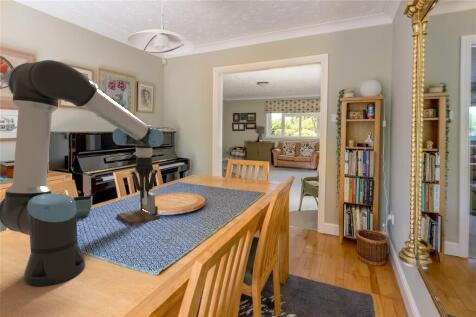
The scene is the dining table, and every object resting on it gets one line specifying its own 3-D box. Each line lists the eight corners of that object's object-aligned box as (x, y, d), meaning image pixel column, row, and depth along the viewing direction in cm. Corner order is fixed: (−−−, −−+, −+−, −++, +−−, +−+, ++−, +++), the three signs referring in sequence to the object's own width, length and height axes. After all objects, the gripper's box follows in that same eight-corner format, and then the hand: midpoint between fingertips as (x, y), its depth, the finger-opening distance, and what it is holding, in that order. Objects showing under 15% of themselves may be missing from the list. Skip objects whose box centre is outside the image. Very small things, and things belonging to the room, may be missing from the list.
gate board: (130, 225, 121) (130, 198, 120) (116, 217, 132) (116, 192, 131) (160, 218, 132) (160, 193, 130) (145, 210, 143) (144, 188, 141)
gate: (142, 209, 137) (141, 191, 136) (145, 208, 139) (145, 190, 138) (151, 214, 130) (151, 194, 129) (155, 213, 131) (154, 194, 130)
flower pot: (73, 213, 135) (73, 196, 134) (93, 212, 139) (92, 195, 138) (71, 219, 127) (70, 201, 127) (91, 217, 131) (91, 199, 130)
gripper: (153, 155, 135) (153, 200, 137) (128, 156, 126) (128, 204, 128) (160, 156, 129) (160, 203, 131) (133, 157, 121) (134, 207, 123)
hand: (144, 204), depth 130 cm, fingers closed
